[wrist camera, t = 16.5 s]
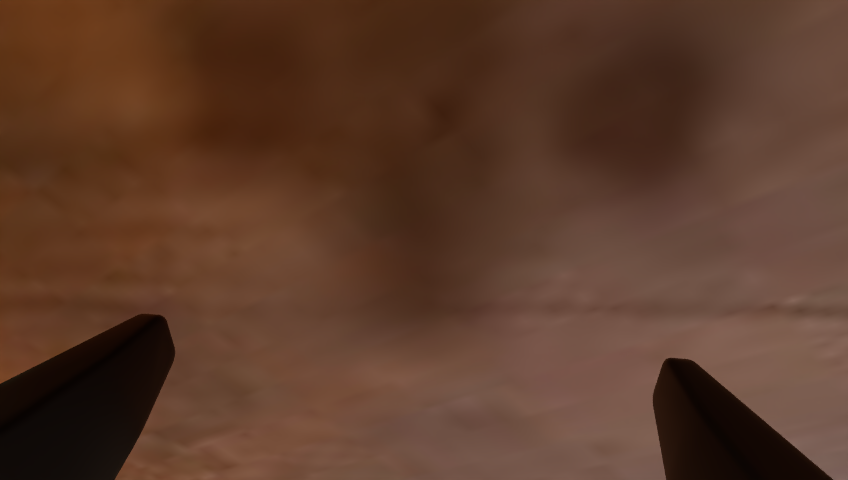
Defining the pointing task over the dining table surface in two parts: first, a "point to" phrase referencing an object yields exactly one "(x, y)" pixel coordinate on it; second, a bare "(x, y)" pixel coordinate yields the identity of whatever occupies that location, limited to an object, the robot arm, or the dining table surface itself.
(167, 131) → the dining table surface
